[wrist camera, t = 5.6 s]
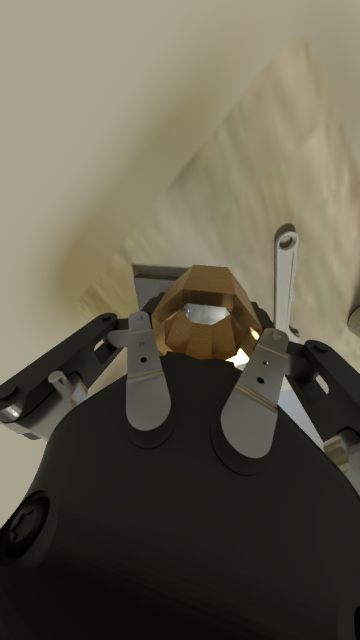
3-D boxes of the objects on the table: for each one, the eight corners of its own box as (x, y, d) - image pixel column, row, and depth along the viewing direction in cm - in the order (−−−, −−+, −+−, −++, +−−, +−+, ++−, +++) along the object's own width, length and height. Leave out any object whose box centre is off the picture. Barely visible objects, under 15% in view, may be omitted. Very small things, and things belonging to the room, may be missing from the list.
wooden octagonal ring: (253, 269, 11) (276, 298, 7) (233, 334, 14) (240, 378, 10) (170, 263, 12) (148, 285, 8) (171, 325, 15) (156, 363, 11)
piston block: (230, 281, 26) (236, 300, 20) (218, 338, 34) (219, 366, 28) (138, 274, 29) (116, 290, 22) (146, 329, 37) (132, 352, 30)
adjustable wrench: (273, 233, 22) (277, 234, 20) (326, 222, 20) (334, 222, 18) (261, 352, 35) (263, 357, 33) (293, 351, 33) (296, 357, 31)
